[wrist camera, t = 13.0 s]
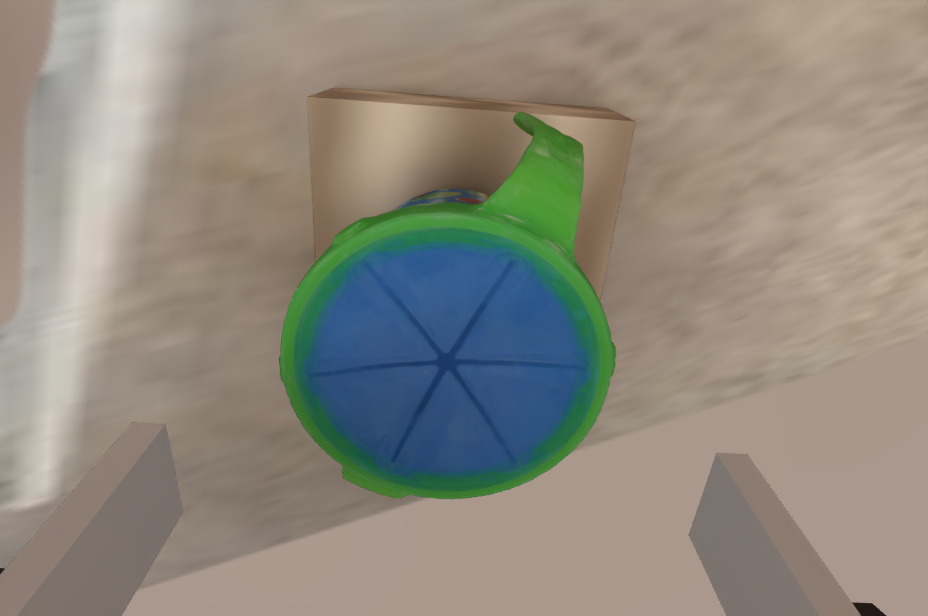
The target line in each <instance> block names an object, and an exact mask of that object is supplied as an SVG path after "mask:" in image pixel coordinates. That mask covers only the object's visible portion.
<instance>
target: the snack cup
mask: <svg viewBox="0 0 928 616" xmlns="http://www.w3.org/2000/svg"><path fill="white" fill-rule="evenodd" d="M513 121H514V123H515V124H516V125H517V126H518V127H519V128H521V129H522V130H523V131H524V132H526V133H527V134H529V135H531V136H532V137H533V138H532V141H531V143H530V144H529V145H528V147H527V148H526V150H525V151H524V153H523V155H522V157H521V159H520V161H519V163H518V164H517V166H516V167H515V169H514V170H513V172H512V173H511V174H510V175H509V176H508V177H507V178H506V179H505V180H504V182H503V183H502V185H501V186H500V187H499V188H498V189H497V190H496V191H495V192H494V193H493V194H492V195H491V196H488V195H486V194H483V193H480V192H476V191H472V190H464V189H442V190H435V191H431V192H428V193H425V194H422V195H419V196H416V197H414V198H411V199H410V200H408V201H406V202H405V203H403V204H402V205H400V206H398V207H397V208H396V209H394V210H392V211H390V212H387V213H383V214H381V215H378V216H373V217H366V218H361V219H359V220H357V221H355V222H354V223H352V224H351V225H349V226H347V227H346V228H345V229H343V230H342V231H340V232H339V233H338V234H337V235H336V236H335V237H334V238H333V240H332V244H331V246H330V247H329V248H327V249H326V251H325V252H324V253H323V254H322V255H321V256H320V257H319V258H318V260H317V261H316V262H315V263H314V264H313V266H312V267H311V268H310V270H309V271H308V273H307V274H306V276H305V277H304V279H303V280H302V282H301V283H300V284H299V286H298V287H297V290H296V291H295V293H294V296H293V298H292V301H291V303H290V305H289V308H288V311H287V315H286V318H285V321H284V326H283V331H282V338H281V355H280V357H279V363H280V375H281V380H282V381H283V383H284V385H285V388H286V391H287V395H288V397H289V399H290V402H291V405H292V407H293V409H294V411H295V413H296V415H297V417H298V418H299V419H300V421H301V423H302V425H303V427H304V428H305V429H306V431H307V432H308V433H309V434H310V436H311V437H312V438H313V439H314V440H315V442H316V443H317V444H318V445H319V446H320V447H321V448H322V449H323V450H324V451H325V452H326V453H327V454H329V455H330V456H331V457H332V458H333V459H334V460H336V461H337V462H339V463H340V464H341V465H343V469H342V475H343V478H344V479H346V480H348V481H349V482H351V483H354V484H356V485H358V486H360V487H363V488H365V489H367V490H370V491H373V492H376V493H379V494H381V495H385V496H389V497H392V498H402V497H404V496H407V495H415V496H421V497H427V498H437V499H462V498H471V497H478V496H485V495H490V494H494V493H498V492H501V491H504V490H509V489H511V488H514V487H516V486H519V485H522V484H524V483H526V482H529V481H531V480H533V479H534V478H536V477H537V476H539V475H541V474H543V473H544V472H546V471H548V470H550V469H551V468H553V467H554V466H555V465H557V464H558V463H559V462H560V461H561V460H563V459H564V458H565V457H566V456H568V455H569V454H570V453H571V452H572V451H573V450H574V449H575V448H576V447H577V445H578V444H579V443H580V442H581V441H582V440H583V439H584V437H585V436H586V435H587V433H588V432H589V430H590V429H591V427H592V426H593V424H594V423H595V421H596V419H597V417H598V415H599V413H600V411H601V409H602V406H603V403H604V401H605V398H606V395H607V391H608V388H609V384H610V377H611V376H612V375H613V372H614V369H615V357H616V348H615V345H614V343H613V342H612V341H611V334H610V330H609V326H608V323H607V319H606V316H605V313H604V311H603V308H602V306H601V303H600V301H599V299H598V297H597V295H596V292H595V290H594V288H593V287H592V285H591V283H590V281H589V280H588V278H587V277H586V275H585V273H584V272H583V271H582V269H581V268H580V267H579V266H578V264H577V262H576V260H575V256H574V247H575V244H574V241H575V235H576V231H577V226H578V218H579V213H580V210H581V208H582V204H581V193H582V190H583V182H584V154H583V145H582V144H581V143H580V142H579V141H577V140H576V139H574V138H572V137H571V136H567V135H564V134H563V133H561V132H560V131H558V130H557V129H555V128H553V127H551V126H548V125H547V124H546V123H544V122H543V121H542V120H540V119H538V118H536V117H534V116H532V115H530V114H527V113H524V112H518V113H517V114H515V115H514V117H513Z"/></svg>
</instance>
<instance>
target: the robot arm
mask: <svg viewBox="0 0 928 616" xmlns="http://www.w3.org/2000/svg"><path fill="white" fill-rule="evenodd" d="M182 513H183V508H182V503H181V498H180V493H179V488H178V483H177V478H176V473H175V468H174V463H173V458H172V453H171V448H170V443H169V438H168V433H167V428H166V424H153V423H133V422H132V423H131V424H130V426H129V427H128V428H127V429H126V430H125V431H124V433H123V434H122V435H121V436H120V437H119V438H118V439H117V441H116V442H115V443H114V444H113V445H112V446H111V447H110V449H109V450H108V451H107V452H106V453H105V454H104V456H103V457H102V458H101V459H100V460H99V461H98V462H97V464H96V465H95V466H94V467H93V468H92V469H91V471H90V472H89V473H88V474H87V475H86V476H85V477H84V479H83V480H82V481H81V482H80V483H79V484H78V485H77V487H76V488H75V489H74V490H73V491H72V492H71V494H70V495H69V496H68V497H67V498H66V499H65V500H64V502H63V503H62V504H61V505H60V506H59V507H58V508H57V510H56V511H55V512H54V513H53V514H52V515H51V517H50V518H49V519H48V520H47V521H46V522H45V523H44V525H43V526H42V527H41V528H40V529H39V530H38V532H37V533H36V534H35V535H34V536H33V537H32V538H31V540H30V541H29V542H28V543H27V544H26V545H25V546H24V548H23V549H22V550H21V551H20V552H19V553H18V555H17V556H16V557H15V558H14V559H13V560H12V561H11V563H10V564H9V565H8V566H7V567H6V568H5V569H4V568H0V616H122V614H123V612H124V611H125V609H126V607H127V605H128V604H129V602H130V600H131V599H132V597H133V595H134V594H135V592H136V590H137V589H138V587H139V585H140V584H141V582H142V580H143V579H144V577H145V575H146V574H147V572H148V570H149V569H150V567H151V565H152V563H153V562H154V560H155V558H156V557H157V555H158V553H159V552H160V550H161V548H162V547H163V545H164V543H165V542H166V540H167V538H168V537H169V535H170V533H171V531H172V530H173V528H174V526H175V525H176V523H177V521H178V520H179V518H180V516H181V515H182ZM689 536H690V539H691V541H692V543H693V545H694V547H695V549H696V552H697V554H698V556H699V558H700V560H701V562H702V564H703V566H704V568H705V571H706V573H707V575H708V577H709V579H710V581H711V584H712V586H713V588H714V590H715V592H716V594H717V597H718V599H719V601H720V603H721V605H722V607H723V609H724V611H725V614H726V616H886V615H885V614H884V613H883V612H881V611H880V610H879V609H878V608H877V607H876V606H874V605H873V604H872V603H852V602H851V601H850V599H849V598H848V596H847V595H846V593H845V592H844V591H843V589H842V588H841V587H840V585H839V584H838V582H837V581H836V579H835V578H834V576H833V575H832V574H831V572H830V571H829V569H828V568H827V567H826V565H825V564H824V562H823V561H822V559H821V558H820V557H819V555H818V554H817V552H816V551H815V549H814V548H813V547H812V545H811V544H810V542H809V541H808V539H807V538H806V537H805V535H804V534H803V532H802V531H801V529H800V528H799V527H798V525H797V524H796V522H795V521H794V520H793V518H792V517H791V515H790V514H789V513H788V511H787V510H786V508H785V507H784V505H783V504H782V502H781V501H780V500H779V498H778V497H777V495H776V494H775V493H774V491H773V490H772V488H771V487H770V485H769V484H768V483H767V481H766V480H765V478H764V477H763V475H762V474H761V473H760V471H759V470H758V468H757V467H756V466H755V464H754V463H753V461H752V460H751V458H750V457H749V456H748V455H747V454H734V453H716V456H715V459H714V462H713V465H712V468H711V471H710V474H709V477H708V480H707V482H706V486H705V489H704V491H703V494H702V497H701V500H700V503H699V506H698V509H697V512H696V515H695V518H694V521H693V524H692V527H691V530H690V533H689Z"/></svg>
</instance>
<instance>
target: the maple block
mask: <svg viewBox="0 0 928 616" xmlns="http://www.w3.org/2000/svg"><path fill="white" fill-rule="evenodd" d="M307 104H308V124H309V143H310V163H311V183H312V202H313V222H314V242H315V261H317V260H318V258H319V257H320V256H321V255H322V254H323V253H324V252H325V251H326V249H327V248H329V247H330V246H331V244H332V240H333V238H334V237H335V236H336V235H337V234H338V233H339V232H340V231H342V230H343V229H345V228H346V227H347V226H349V225H351V224H352V223H354V222H355V221H357V220H359V219H361V218H366V217H373V216H378V215H381V214H383V213H387V212H390V211H392V210H394V209H396V208H397V207H398V206H400V205H402V204H403V203H405V202H406V201H408V200H410V199H411V198H414V197H416V196H419V195H422V194H425V193H428V192H431V191H435V190H442V189H464V190H472V191H476V192H480V193H483V194H486V195H488V196H491V195H492V194H493V193H494V192H495V191H496V190H497V189H498V188H499V187H500V186H501V185H502V183H503V182H504V180H505V179H506V178H507V177H508V176H509V175H510V174H511V173H512V172H513V170H514V169H515V167H516V166H517V164H518V163H519V161H520V159H521V157H522V155H523V153H524V151H525V150H526V148H527V147H528V145H529V144H530V143H531V141H532V138H533V137H532V136H531V135H529V134H527V133H526V132H524V131H523V130H522V129H521V128H519V127H518V126H517V125H516V124H515V123H514V121H513V117H514V115H515V114H517V113H518V112H524V113H527V114H530V115H532V116H534V117H536V118H538V119H540V120H542V121H543V122H544V123H546V124H547V125H548V126H551V127H553V128H555V129H557V130H558V131H560V132H561V133H563V134H564V135H567V136H571V137H572V138H574V139H576V140H577V141H579V142H580V143H581V144H582V145H583V154H584V182H583V190H582V193H581V204H582V208H581V210H580V213H579V218H578V226H577V231H576V235H575V241H574V244H575V247H574V256H575V260H576V262H577V264H578V266H579V267H580V268H581V269H582V271H583V272H584V273H585V275H586V277H587V278H588V280H589V281H590V283H591V285H592V287H593V288H594V290H595V292H596V295H597V297H598V299H599V301H600V299H601V294H602V289H603V284H604V279H605V273H606V268H607V263H608V258H609V253H610V248H611V243H612V238H613V233H614V228H615V222H616V217H617V212H618V207H619V202H620V197H621V192H622V187H623V182H624V177H625V171H626V166H627V161H628V156H629V151H630V146H631V141H632V136H633V131H634V126H635V121H633V120H631V119H629V118H627V117H625V116H623V115H621V114H619V113H617V112H615V111H612V110H610V109H607V108H593V107H580V106H567V105H554V104H540V103H527V102H514V101H500V100H487V99H474V98H461V97H447V96H434V95H421V94H407V93H394V92H381V91H367V90H354V89H341V88H332V89H329V90H326V91H323V92H320V93H317V94H314V95H311V96H308V97H307Z"/></svg>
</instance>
